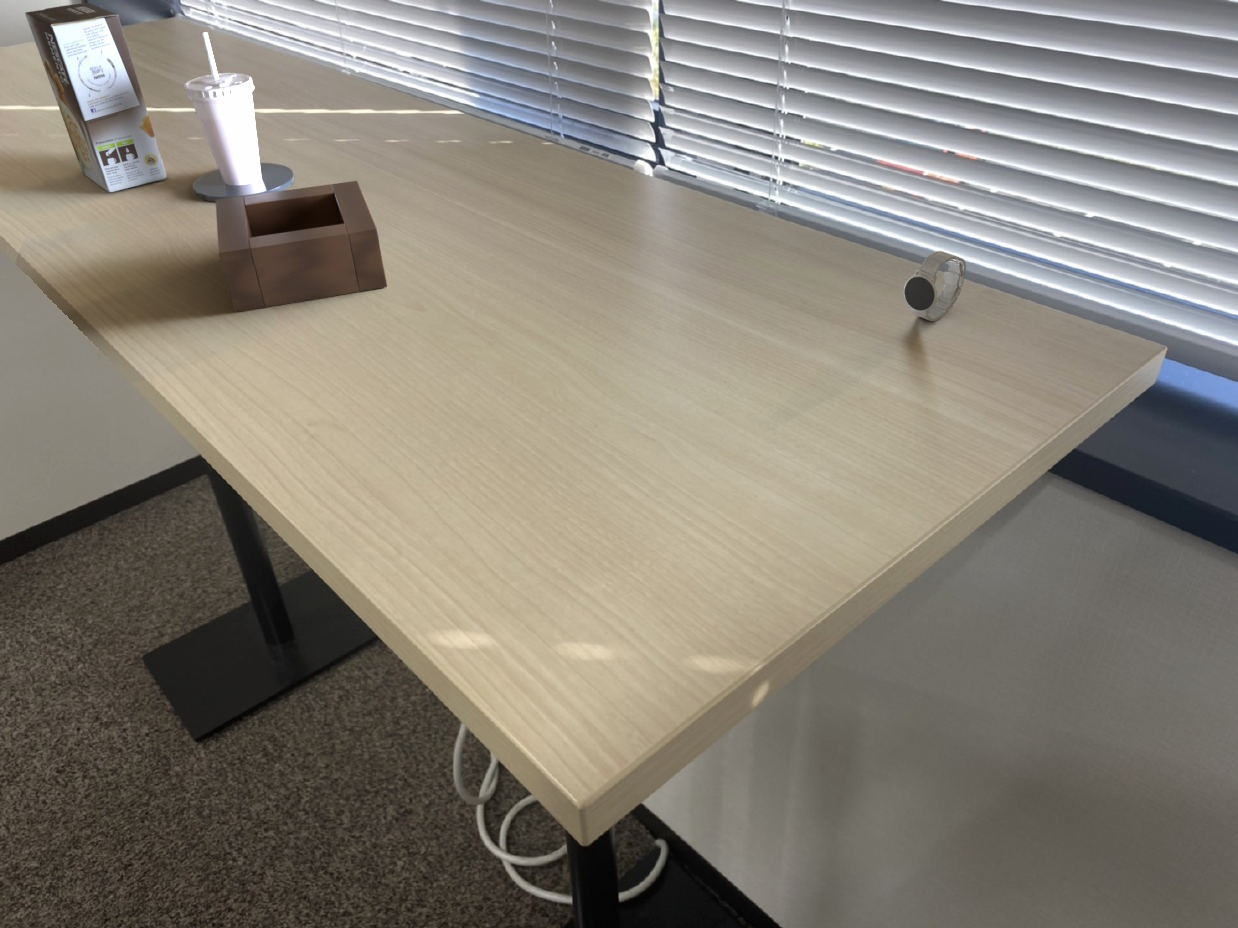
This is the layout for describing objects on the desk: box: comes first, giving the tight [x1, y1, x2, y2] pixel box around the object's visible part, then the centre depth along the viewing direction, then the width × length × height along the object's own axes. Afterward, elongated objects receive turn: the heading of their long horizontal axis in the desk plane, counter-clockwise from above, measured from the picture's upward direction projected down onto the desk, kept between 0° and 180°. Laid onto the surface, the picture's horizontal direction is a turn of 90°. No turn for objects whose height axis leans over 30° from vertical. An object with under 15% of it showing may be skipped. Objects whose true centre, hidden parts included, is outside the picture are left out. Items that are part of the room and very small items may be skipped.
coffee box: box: [24, 2, 168, 193], centre depth 98 cm, size 9×6×16 cm
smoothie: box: [183, 31, 261, 185], centre depth 95 cm, size 6×6×14 cm
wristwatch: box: [903, 250, 967, 322], centre depth 72 cm, size 3×5×5 cm, turn 131°
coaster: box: [192, 162, 296, 203], centre depth 100 cm, size 10×10×1 cm
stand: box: [215, 180, 388, 313], centre depth 81 cm, size 12×12×5 cm
